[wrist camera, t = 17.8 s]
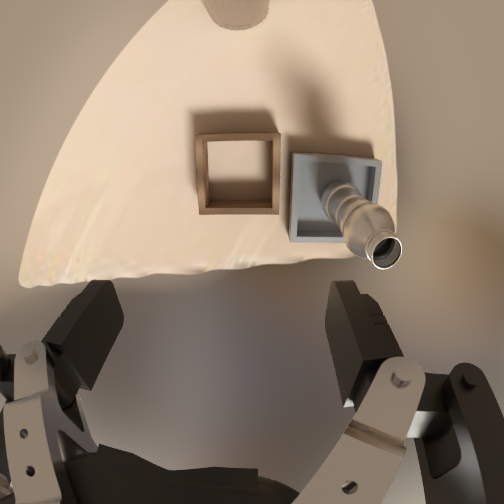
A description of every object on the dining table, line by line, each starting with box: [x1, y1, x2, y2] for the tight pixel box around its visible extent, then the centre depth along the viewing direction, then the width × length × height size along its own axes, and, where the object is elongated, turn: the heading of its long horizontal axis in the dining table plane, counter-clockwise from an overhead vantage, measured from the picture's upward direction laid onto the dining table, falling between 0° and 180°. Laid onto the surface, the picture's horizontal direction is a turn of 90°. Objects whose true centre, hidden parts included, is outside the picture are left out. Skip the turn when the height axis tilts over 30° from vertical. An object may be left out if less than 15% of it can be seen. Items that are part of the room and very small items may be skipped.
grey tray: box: [288, 152, 382, 243], centre depth 42 cm, size 14×14×3 cm
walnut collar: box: [195, 133, 281, 215], centre depth 40 cm, size 12×12×4 cm
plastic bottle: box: [321, 181, 402, 269], centre depth 34 cm, size 6×7×20 cm
